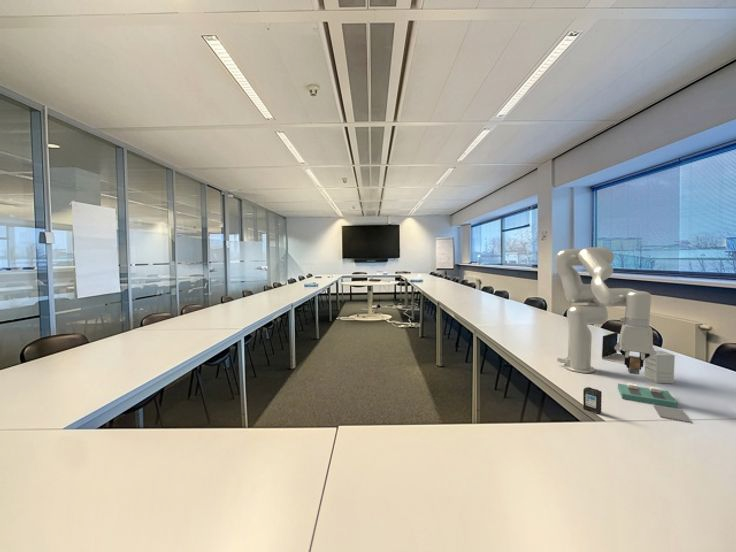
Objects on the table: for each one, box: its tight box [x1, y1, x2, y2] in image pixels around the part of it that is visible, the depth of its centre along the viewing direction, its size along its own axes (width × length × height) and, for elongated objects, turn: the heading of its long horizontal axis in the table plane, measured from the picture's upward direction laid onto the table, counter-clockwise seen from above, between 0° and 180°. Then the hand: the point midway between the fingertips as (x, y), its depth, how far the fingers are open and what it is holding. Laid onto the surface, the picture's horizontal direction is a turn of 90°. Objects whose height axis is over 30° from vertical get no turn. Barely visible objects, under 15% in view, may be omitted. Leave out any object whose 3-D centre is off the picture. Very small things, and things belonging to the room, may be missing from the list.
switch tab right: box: [649, 385, 662, 393], centre depth 130 cm, size 3×2×1 cm
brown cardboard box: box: [627, 355, 641, 375], centre depth 131 cm, size 3×4×6 cm
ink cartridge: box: [582, 386, 602, 415], centre depth 118 cm, size 5×2×8 cm, turn 32°
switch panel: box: [617, 383, 678, 409], centre depth 130 cm, size 16×12×2 cm
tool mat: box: [652, 404, 693, 424], centre depth 116 cm, size 8×10×1 cm
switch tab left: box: [627, 382, 639, 389], centre depth 134 cm, size 3×2×1 cm
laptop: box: [601, 331, 625, 365], centre depth 178 cm, size 18×12×13 cm
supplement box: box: [643, 350, 676, 384], centre depth 147 cm, size 7×7×13 cm
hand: (633, 367), depth 132 cm, fingers closed on brown cardboard box, 3 cm apart
